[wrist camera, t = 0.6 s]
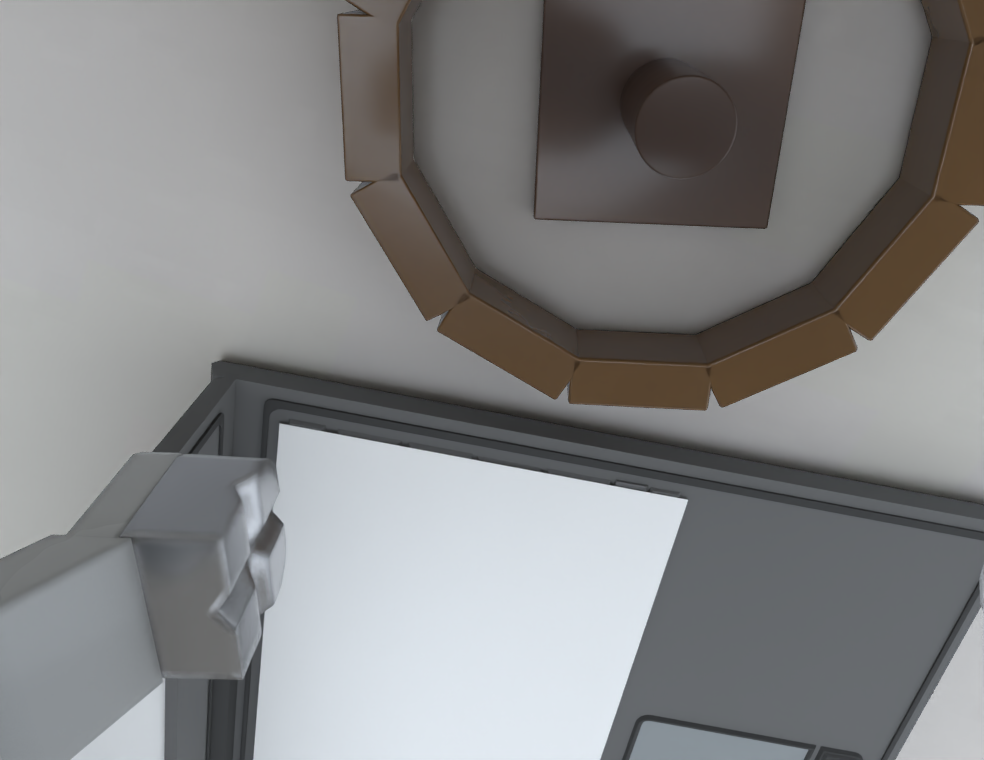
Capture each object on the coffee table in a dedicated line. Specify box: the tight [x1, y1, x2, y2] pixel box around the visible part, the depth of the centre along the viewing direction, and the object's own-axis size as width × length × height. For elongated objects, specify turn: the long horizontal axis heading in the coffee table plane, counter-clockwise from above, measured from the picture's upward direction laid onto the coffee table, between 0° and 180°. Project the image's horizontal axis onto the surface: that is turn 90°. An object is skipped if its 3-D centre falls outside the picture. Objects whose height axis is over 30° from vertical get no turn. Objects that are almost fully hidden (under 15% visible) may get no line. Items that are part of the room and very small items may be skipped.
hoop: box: [337, 0, 984, 411], centre depth 23 cm, size 18×18×2 cm
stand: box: [534, 0, 806, 229], centre depth 22 cm, size 7×7×5 cm
